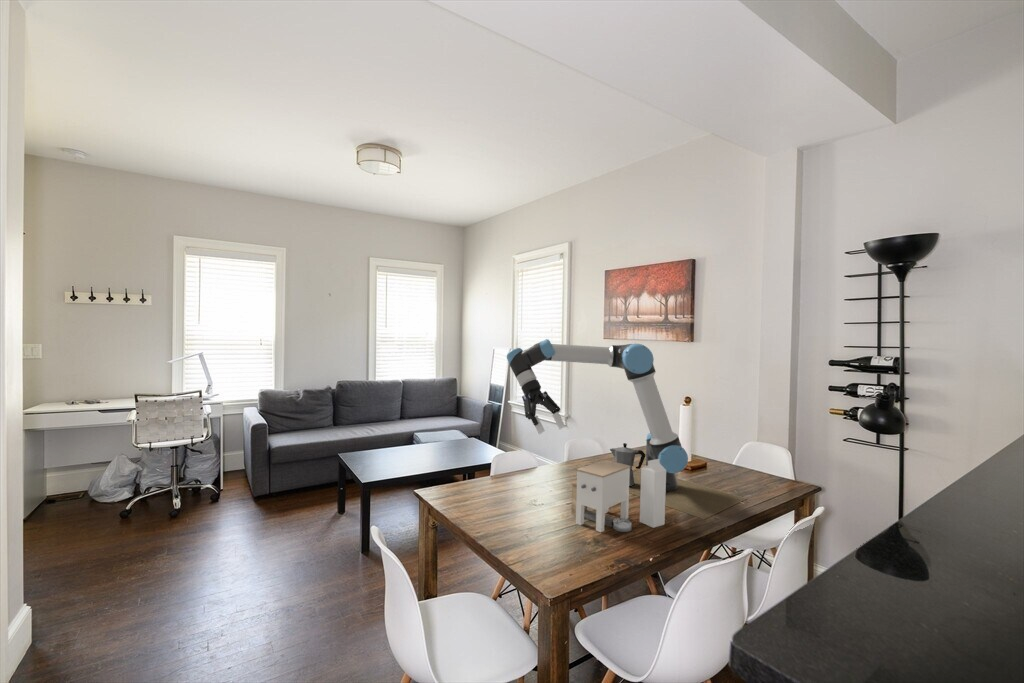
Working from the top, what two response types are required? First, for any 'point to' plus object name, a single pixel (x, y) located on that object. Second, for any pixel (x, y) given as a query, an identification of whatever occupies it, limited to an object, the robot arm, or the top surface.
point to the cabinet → (602, 490)
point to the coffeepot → (628, 458)
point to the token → (622, 524)
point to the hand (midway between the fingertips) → (552, 430)
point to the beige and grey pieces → (587, 514)
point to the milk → (653, 494)
